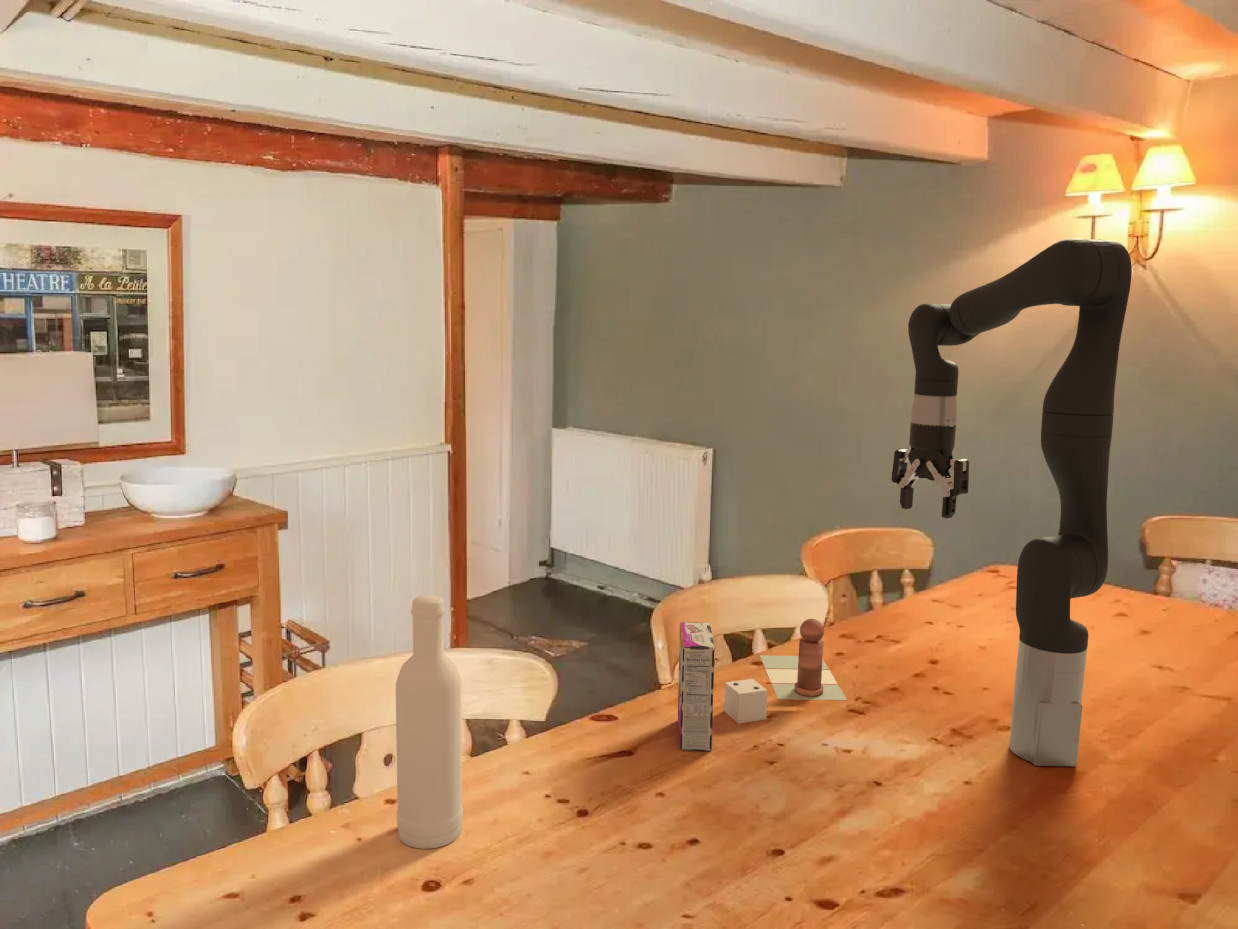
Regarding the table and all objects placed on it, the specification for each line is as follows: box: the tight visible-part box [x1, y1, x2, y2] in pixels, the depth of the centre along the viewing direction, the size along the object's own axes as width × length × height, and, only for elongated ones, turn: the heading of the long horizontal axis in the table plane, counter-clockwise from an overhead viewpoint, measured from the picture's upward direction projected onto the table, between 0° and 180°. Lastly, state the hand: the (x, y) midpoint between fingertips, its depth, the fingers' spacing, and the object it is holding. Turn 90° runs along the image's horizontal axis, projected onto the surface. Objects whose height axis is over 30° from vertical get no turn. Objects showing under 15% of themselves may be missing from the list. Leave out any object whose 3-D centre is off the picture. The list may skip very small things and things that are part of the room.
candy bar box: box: [677, 621, 715, 752], centre depth 149 cm, size 11×5×16 cm, turn 179°
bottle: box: [395, 594, 464, 850], centre depth 119 cm, size 8×8×30 cm
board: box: [759, 654, 848, 701], centre depth 174 cm, size 22×13×1 cm, turn 0°
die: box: [723, 678, 769, 724], centre depth 158 cm, size 5×5×5 cm
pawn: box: [794, 618, 825, 697], centre depth 166 cm, size 5×5×13 cm
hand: (926, 513), depth 171 cm, fingers open, 8 cm apart
